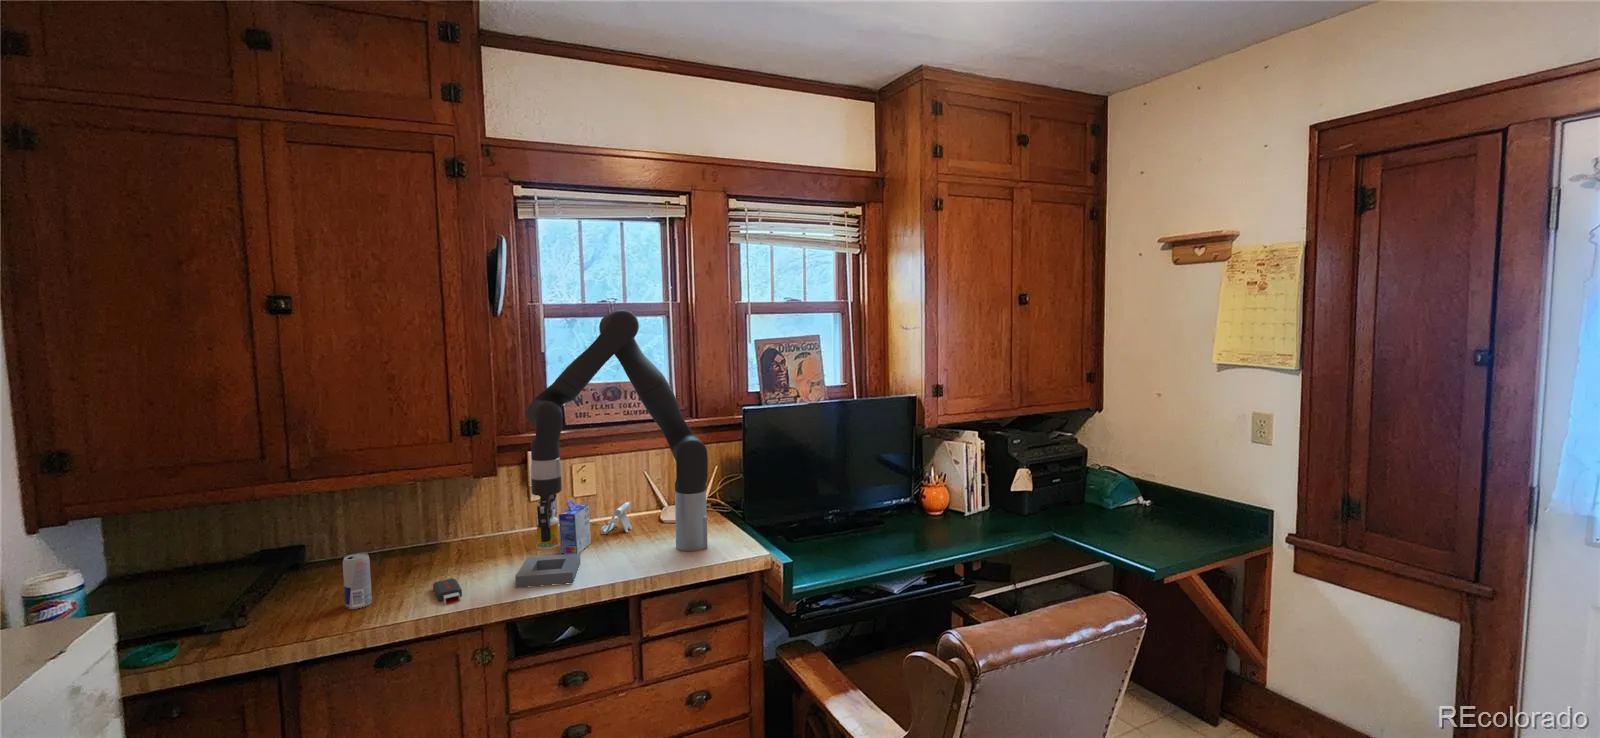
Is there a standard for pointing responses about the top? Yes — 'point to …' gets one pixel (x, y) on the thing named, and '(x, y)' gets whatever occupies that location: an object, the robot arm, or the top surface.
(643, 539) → the top surface
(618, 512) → the portable electronic device stand
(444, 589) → the usb drive
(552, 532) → the supplement bottle
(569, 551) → the ink cartridge box
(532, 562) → the socket block
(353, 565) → the energy drink
